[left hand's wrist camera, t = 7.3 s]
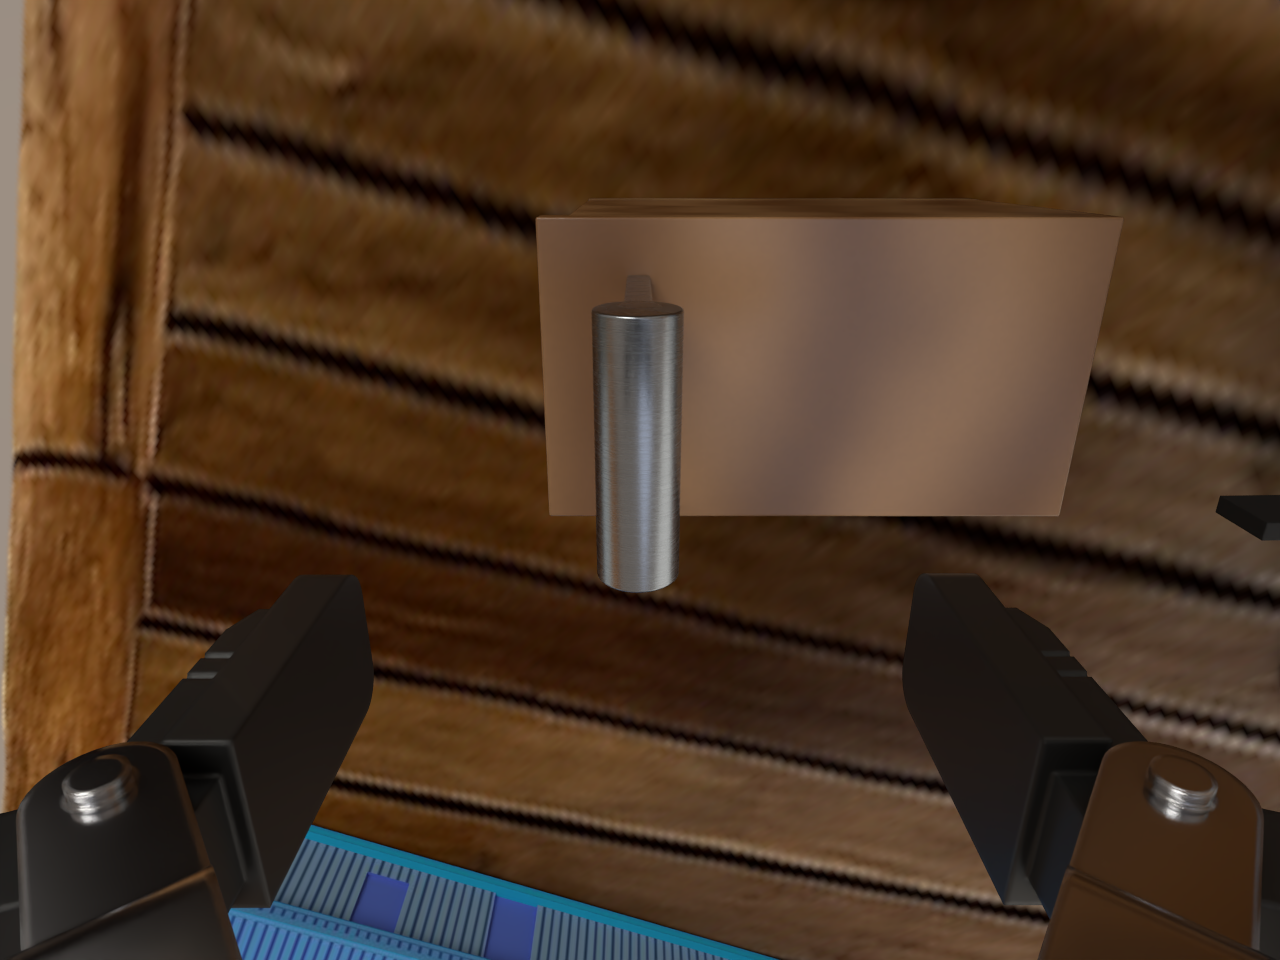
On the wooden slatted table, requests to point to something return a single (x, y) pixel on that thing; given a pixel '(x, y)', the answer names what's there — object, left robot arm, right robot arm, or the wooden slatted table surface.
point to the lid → (811, 368)
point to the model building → (439, 915)
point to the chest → (808, 207)
